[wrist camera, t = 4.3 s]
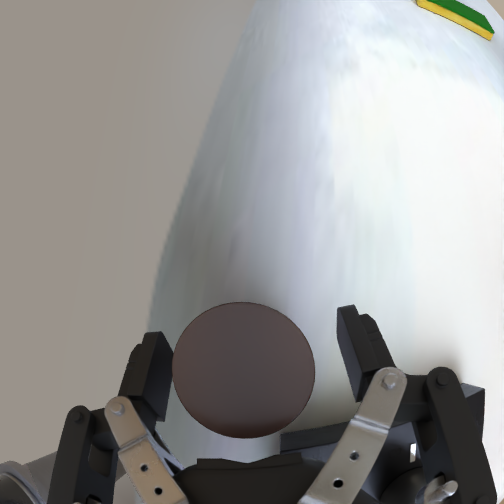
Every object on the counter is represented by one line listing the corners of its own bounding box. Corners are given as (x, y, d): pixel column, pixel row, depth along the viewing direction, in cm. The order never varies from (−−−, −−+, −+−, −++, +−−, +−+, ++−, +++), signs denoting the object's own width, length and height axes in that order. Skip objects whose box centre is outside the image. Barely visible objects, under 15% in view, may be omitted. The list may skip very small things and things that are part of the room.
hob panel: (294, 534, 14) (295, 557, 11) (280, 433, 16) (279, 452, 13) (456, 485, 13) (473, 499, 10) (463, 382, 16) (486, 388, 13)
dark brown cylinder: (227, 390, 18) (183, 441, 9) (216, 317, 19) (162, 311, 10) (304, 381, 17) (323, 429, 9) (293, 305, 18) (303, 291, 10)
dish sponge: (413, -8, 28) (416, -18, 25) (481, 24, 25) (484, 15, 23) (417, 6, 26) (420, -5, 24) (490, 41, 24) (495, 32, 22)
